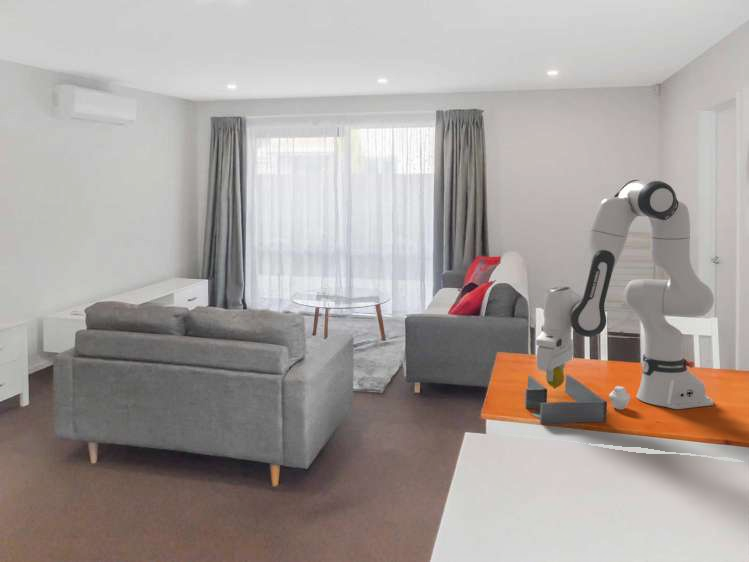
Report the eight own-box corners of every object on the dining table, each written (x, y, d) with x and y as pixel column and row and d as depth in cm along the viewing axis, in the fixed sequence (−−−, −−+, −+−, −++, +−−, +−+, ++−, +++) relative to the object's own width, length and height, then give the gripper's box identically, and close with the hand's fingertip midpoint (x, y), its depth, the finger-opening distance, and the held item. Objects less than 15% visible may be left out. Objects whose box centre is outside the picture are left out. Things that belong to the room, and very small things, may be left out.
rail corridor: (568, 391, 204) (568, 374, 204) (606, 421, 177) (607, 401, 176) (511, 393, 203) (512, 376, 202) (541, 423, 176) (541, 403, 175)
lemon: (564, 391, 195) (565, 367, 194) (546, 390, 196) (547, 366, 195) (562, 386, 200) (563, 362, 199) (545, 385, 201) (546, 362, 200)
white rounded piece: (604, 404, 192) (606, 383, 191) (623, 404, 192) (624, 382, 191) (614, 411, 186) (615, 389, 185) (633, 410, 186) (634, 388, 185)
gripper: (560, 330, 205) (559, 369, 207) (533, 341, 190) (532, 383, 192) (578, 332, 201) (577, 373, 203) (552, 344, 186) (551, 387, 188)
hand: (555, 378), depth 197 cm, fingers closed on lemon, 5 cm apart
